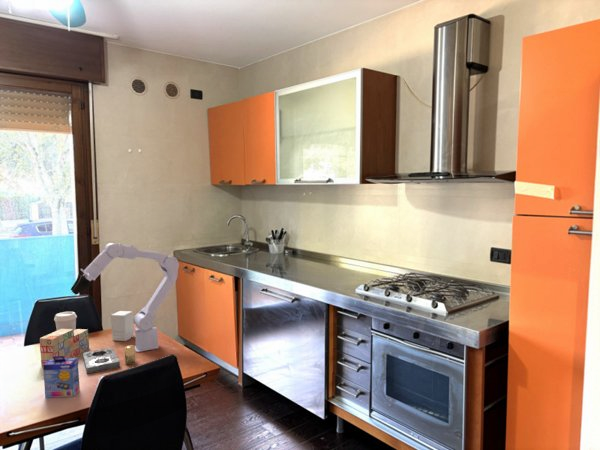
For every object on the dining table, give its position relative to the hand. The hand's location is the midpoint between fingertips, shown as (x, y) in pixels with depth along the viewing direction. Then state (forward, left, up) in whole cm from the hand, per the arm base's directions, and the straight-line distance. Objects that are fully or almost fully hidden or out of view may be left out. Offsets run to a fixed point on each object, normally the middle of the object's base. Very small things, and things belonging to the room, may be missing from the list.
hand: (73, 292), depth 182 cm
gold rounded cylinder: (-19, +13, -30) cm, 38 cm away
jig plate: (-8, +6, -30) cm, 32 cm away
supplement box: (-21, -22, -30) cm, 43 cm away
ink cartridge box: (+7, +30, -30) cm, 43 cm away
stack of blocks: (+4, -9, -30) cm, 32 cm away
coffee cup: (+3, -26, -30) cm, 40 cm away
